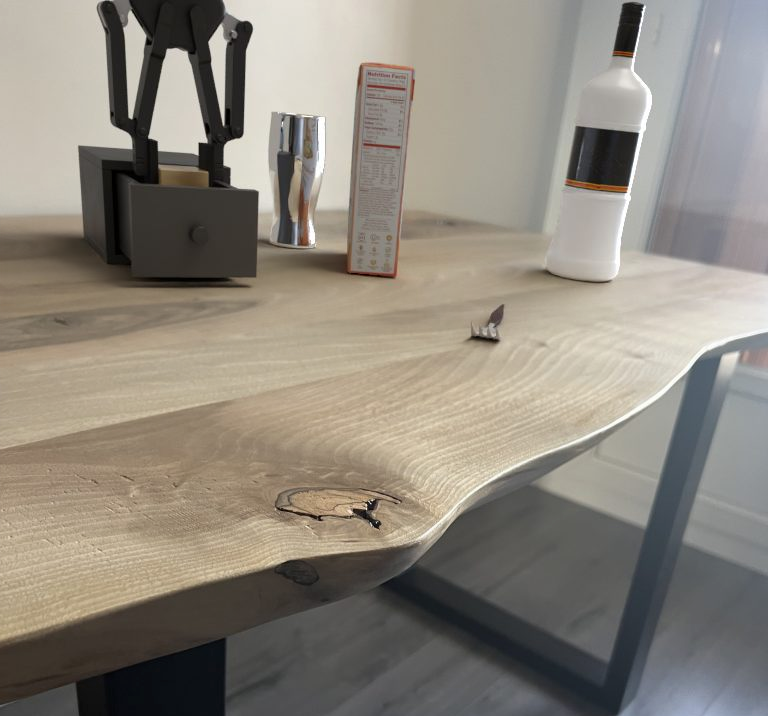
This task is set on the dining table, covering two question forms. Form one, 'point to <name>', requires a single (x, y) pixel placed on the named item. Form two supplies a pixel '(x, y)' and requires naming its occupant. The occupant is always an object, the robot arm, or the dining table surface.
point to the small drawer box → (100, 192)
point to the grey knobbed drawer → (185, 228)
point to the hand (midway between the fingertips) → (179, 213)
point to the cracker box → (379, 167)
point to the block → (182, 176)
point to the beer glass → (295, 176)
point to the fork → (491, 324)
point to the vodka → (602, 163)
